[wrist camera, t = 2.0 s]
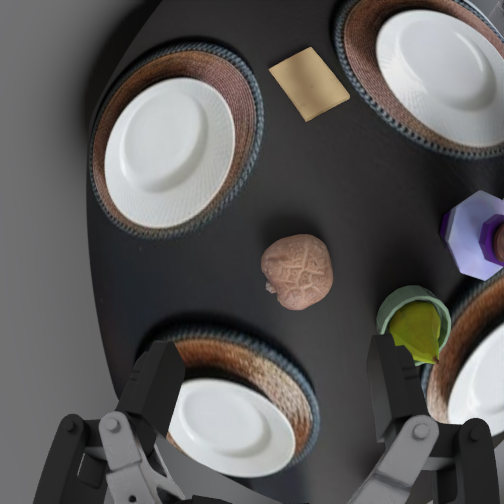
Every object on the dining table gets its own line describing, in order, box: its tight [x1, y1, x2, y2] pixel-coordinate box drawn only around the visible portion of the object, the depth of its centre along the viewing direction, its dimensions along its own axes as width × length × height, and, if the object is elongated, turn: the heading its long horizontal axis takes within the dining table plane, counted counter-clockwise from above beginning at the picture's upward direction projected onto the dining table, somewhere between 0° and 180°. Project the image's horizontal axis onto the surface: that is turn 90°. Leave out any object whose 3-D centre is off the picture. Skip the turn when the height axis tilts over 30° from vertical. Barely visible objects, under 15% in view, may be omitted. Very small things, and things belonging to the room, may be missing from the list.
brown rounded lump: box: [261, 234, 333, 310], centre depth 31 cm, size 8×6×8 cm
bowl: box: [376, 285, 451, 366], centre depth 28 cm, size 8×8×4 cm
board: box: [269, 47, 350, 122], centre depth 28 cm, size 6×8×1 cm
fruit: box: [388, 301, 441, 364], centre depth 24 cm, size 6×6×12 cm
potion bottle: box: [438, 190, 504, 281], centre depth 21 cm, size 9×9×12 cm
